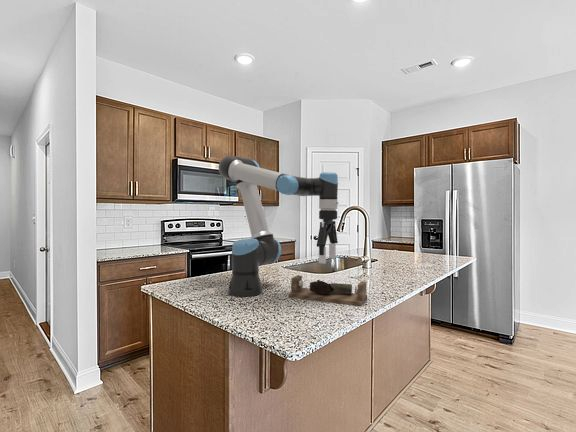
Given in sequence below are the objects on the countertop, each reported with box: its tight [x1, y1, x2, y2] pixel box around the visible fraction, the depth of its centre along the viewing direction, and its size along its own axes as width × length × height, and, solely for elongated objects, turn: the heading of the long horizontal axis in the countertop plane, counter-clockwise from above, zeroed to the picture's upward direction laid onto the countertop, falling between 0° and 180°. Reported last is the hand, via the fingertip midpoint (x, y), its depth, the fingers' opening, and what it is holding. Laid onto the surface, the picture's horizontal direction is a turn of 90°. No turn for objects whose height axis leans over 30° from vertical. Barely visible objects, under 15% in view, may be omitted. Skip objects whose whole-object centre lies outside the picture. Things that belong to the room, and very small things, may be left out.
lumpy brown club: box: [309, 279, 353, 295], centre depth 136 cm, size 18×7×6 cm, turn 81°
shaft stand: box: [288, 274, 368, 307], centre depth 135 cm, size 30×12×8 cm, turn 65°
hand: (327, 260), depth 135 cm, fingers open, 13 cm apart
